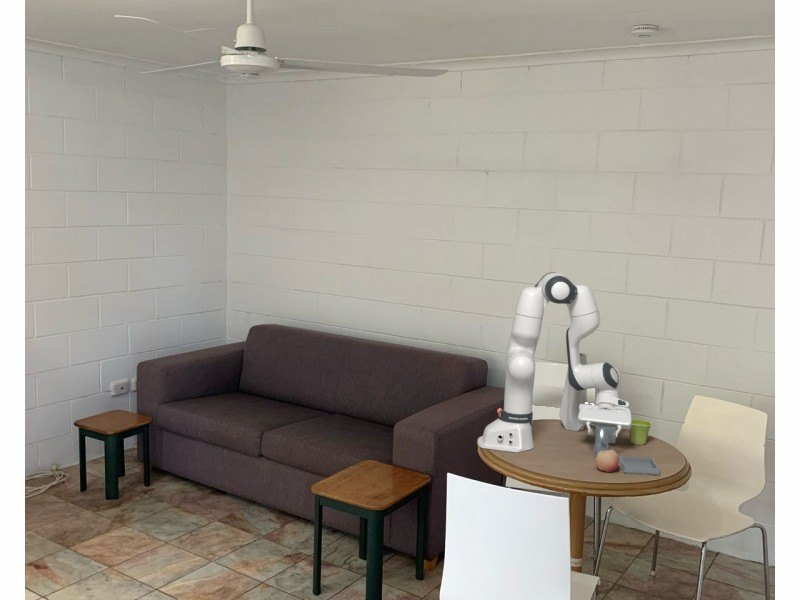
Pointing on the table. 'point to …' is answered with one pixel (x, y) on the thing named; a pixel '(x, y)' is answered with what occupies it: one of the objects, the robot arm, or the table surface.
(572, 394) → the vase
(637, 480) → the table surface
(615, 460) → the fruit
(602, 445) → the canister
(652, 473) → the tray
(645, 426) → the plant pot
